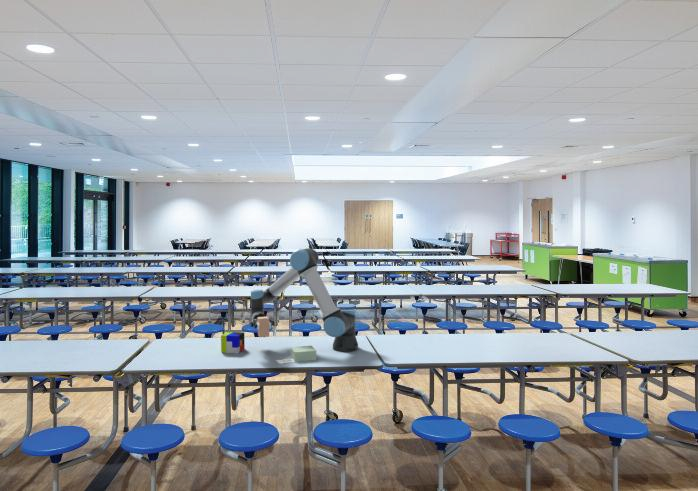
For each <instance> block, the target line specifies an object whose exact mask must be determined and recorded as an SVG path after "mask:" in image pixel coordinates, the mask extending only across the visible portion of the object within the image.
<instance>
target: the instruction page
mask: <svg viewBox="0 0 698 491" xmlns="http://www.w3.org/2000/svg"><path fill="white" fill-rule="evenodd" d="M275 361H276V362H277V364H280V365H283V364H290V363H297V362H299V361H294V360H293V358H292V357H291V358H285V359H275Z"/></svg>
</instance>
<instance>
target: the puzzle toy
mask: <svg viewBox="0 0 698 491" xmlns="http://www.w3.org/2000/svg"><path fill="white" fill-rule="evenodd" d="M245 349H246V348H245V332H244V331H243V332H242V331H241V332H239V331H227V332H225V333H223V334H221V335H220V353H221V352H224V353H225V354H239V353H241V352H242V351H244V350H245Z"/></svg>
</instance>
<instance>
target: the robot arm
mask: <svg viewBox="0 0 698 491" xmlns="http://www.w3.org/2000/svg"><path fill="white" fill-rule="evenodd" d="M319 260H320V257H319V254H318V252H317V251H316V250H315V249H314V248H310V247H309V248H299V249H296V250H294V251H293V252H292V253H291V255H290V257H289V264H290V266H291V267H290V268H289V269H288V270H287V271H285V272H284V273H283V274H282V275H281V276H280V277H279V278H277V279H276V281H274V282H273V283H272V284H271V285H270V286H269V287H267V288H266V289H265V290H263V289H252V290H251V291H250V319H248V325H249V326H250V327H251V328H253V327H254V329H257V331H258V330H259V323H258V317H267V316H266V315H265V310H264V309H265V305H266V304H269V303H271V302H274V301H276V300H277V297H278V296H279V295H280V294H281V293H282V292H284V291H285V290H286V289H288V287H290V286H291V285H292V284H293V283H294V282H295V281H297V280H298V279H299V278H300V277H302V278H303V279H304V281H305V283H306V285H307V286H308V289H309V291H310V293H311V294H312V296H313V299H314V301H315V302H316V304H317V306H318V308H319V310H320V312H321V314H322V316H321V320H322V322H323V326H322V328H323V330H324V333H326V334H327V335H328V336H329V337H332V338H334V340H333V343H332V350H334V351H337V352H354V351H358V350H359V343H358V339H357V336H356V311H355V310H352V309H341V308H339V307H337V306H336V305H335V302H334V301H333V299H332V297H331V294H330V293H329V291H328V289H327V287H326V286H325V283H324V281H323V279H322V278H321V276H320V274H319V272H318V263H319ZM274 326H275V320H274V319H273V317H271V318H270V317H269V330H271V329H272V327H274Z"/></svg>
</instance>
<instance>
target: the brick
mask: <svg viewBox="0 0 698 491" xmlns="http://www.w3.org/2000/svg"><path fill="white" fill-rule="evenodd" d="M269 319H270V317H268V316H266V317H258V323H259V330H258V329H257V336H258V338H268V337H270V328H269Z"/></svg>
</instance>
